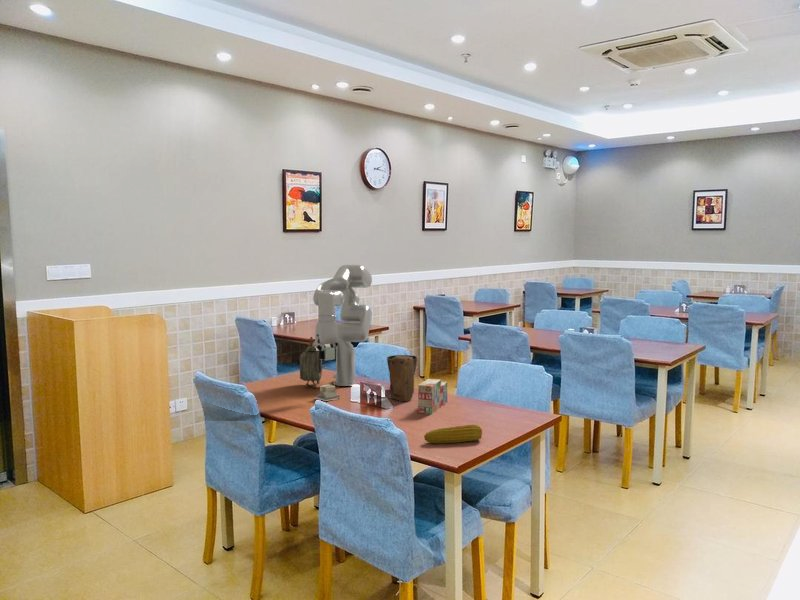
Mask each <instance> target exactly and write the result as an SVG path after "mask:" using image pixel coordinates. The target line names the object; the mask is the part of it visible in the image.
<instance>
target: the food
mask: <svg viewBox="0 0 800 600" xmlns="http://www.w3.org/2000/svg"><path fill="white" fill-rule="evenodd" d="M482 435H483V430H482V427H481V426H479V425H477V424H466V425H458V426H451V427H444V428H437V429H433V430H430V431H428V432H426V433H425V434H424V436H423V439H424V441H426V442H427V443H430V444H455V443H465V442H467V441H468V442H475V441H478V440H481V439H482Z"/></svg>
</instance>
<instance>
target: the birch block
mask: <svg viewBox="0 0 800 600" xmlns="http://www.w3.org/2000/svg"><path fill="white" fill-rule="evenodd" d="M335 394H336V386H335V385H334V384H333V385H332V384H328V383H327V384H324V385H319V395H320V396H321V397H325V398H329V397H333V396H335Z"/></svg>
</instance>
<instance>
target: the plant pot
mask: <svg viewBox="0 0 800 600" xmlns="http://www.w3.org/2000/svg"><path fill="white" fill-rule="evenodd" d="M398 355H399V354H396V355H395V354H394V355H389V356H386V361H387V367H388V368H387V369H388V372H389V373H388V374H390V362H391V360H392V358H394V357H395V356H398ZM404 355H405V356H409V357H412V358H413V362H414V376H415V375H416V369H417V363H418V357H417V356H415V355H411V354H404Z"/></svg>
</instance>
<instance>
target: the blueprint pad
mask: <svg viewBox="0 0 800 600" xmlns="http://www.w3.org/2000/svg"><path fill="white" fill-rule="evenodd" d="M314 397H315V399H316V398H319V399H317V400H319V401H321V400H323V401H322V402H324V400H325V401H328V400H331V399H337V398H340V399H341V395H340V394H336V393H335V396H333V397H329V398H325V397H321V396H320V394H317V395H315V396H314Z"/></svg>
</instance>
